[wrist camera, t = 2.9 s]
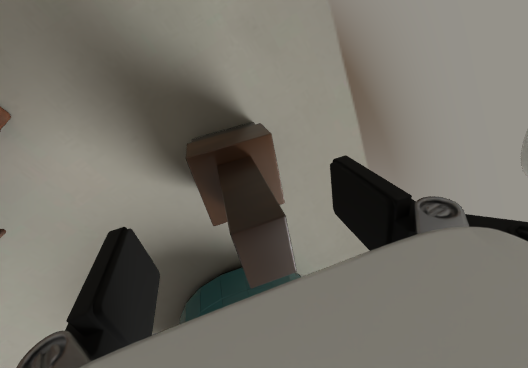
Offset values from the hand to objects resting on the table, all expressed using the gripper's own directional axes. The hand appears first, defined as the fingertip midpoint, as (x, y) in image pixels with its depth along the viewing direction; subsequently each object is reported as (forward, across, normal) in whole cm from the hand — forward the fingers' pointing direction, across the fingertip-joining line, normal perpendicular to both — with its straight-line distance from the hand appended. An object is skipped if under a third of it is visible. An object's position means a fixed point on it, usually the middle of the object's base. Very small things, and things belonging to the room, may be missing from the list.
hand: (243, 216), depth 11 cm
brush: (+7, 0, 0) cm, 7 cm away
